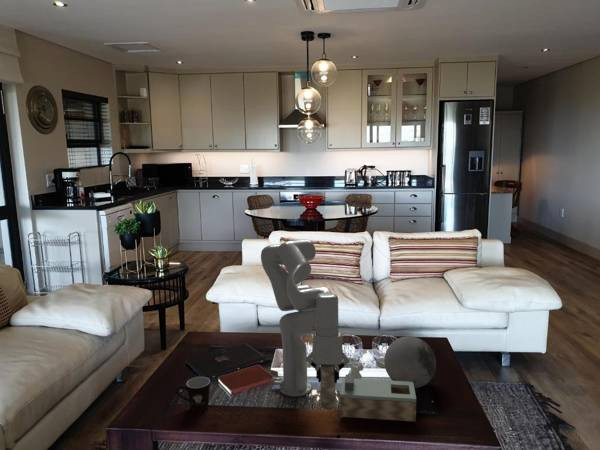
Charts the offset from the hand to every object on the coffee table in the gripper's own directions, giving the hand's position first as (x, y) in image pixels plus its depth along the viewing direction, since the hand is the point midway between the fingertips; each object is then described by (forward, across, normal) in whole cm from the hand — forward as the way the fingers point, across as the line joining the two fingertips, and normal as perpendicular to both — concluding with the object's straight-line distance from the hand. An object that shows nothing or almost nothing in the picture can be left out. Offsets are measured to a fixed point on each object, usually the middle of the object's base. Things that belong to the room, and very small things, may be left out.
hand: (327, 380), depth 162 cm
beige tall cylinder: (+9, 0, 0) cm, 9 cm away
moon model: (+17, +30, +31) cm, 46 cm away
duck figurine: (+17, +8, +28) cm, 34 cm away
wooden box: (+17, +17, +10) cm, 26 cm away
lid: (+8, +17, +10) cm, 21 cm away
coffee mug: (+17, -50, +6) cm, 53 cm away
